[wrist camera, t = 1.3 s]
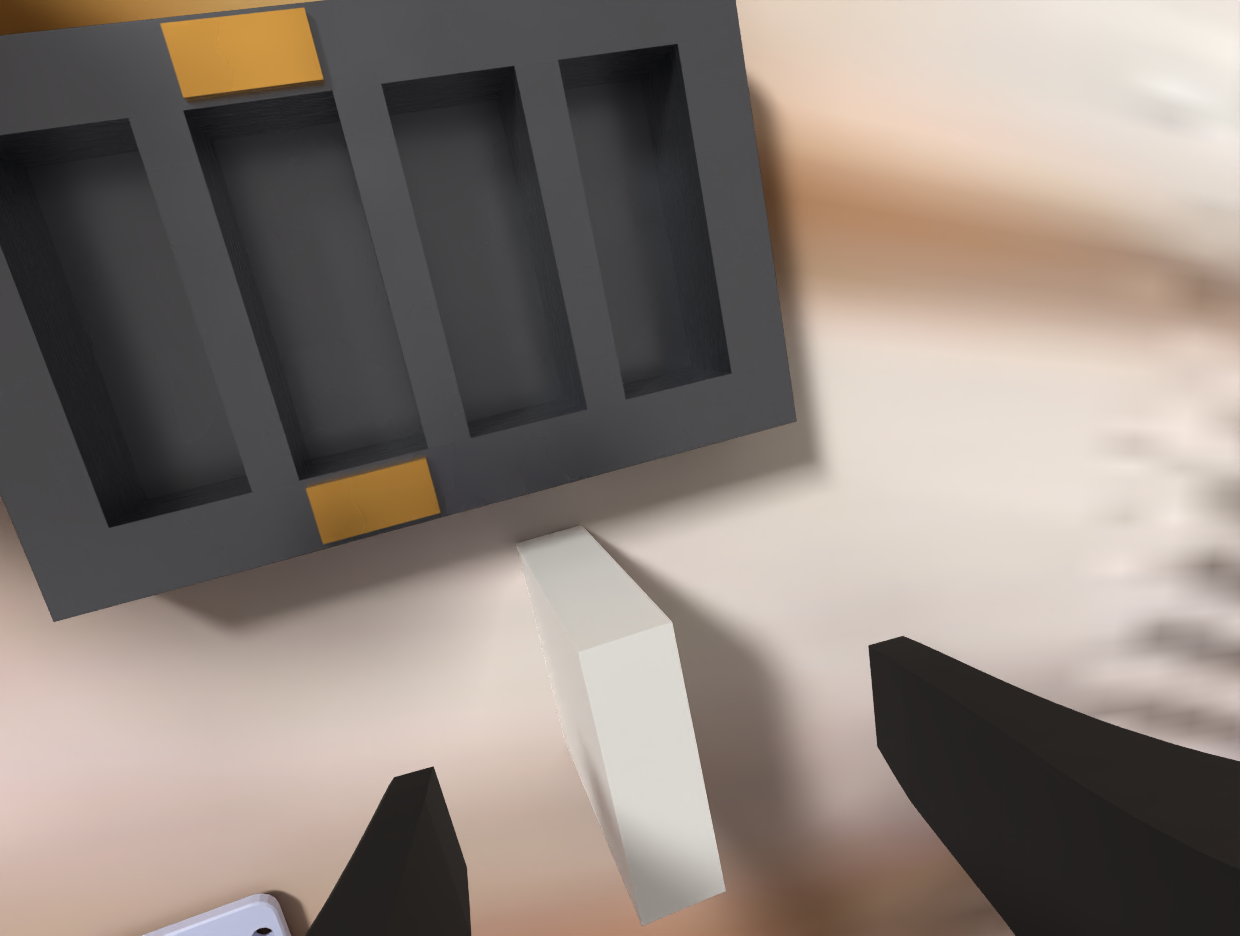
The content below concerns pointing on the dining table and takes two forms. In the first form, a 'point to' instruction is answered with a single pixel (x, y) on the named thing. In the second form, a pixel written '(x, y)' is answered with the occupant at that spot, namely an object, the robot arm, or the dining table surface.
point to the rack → (365, 272)
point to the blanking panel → (624, 719)
